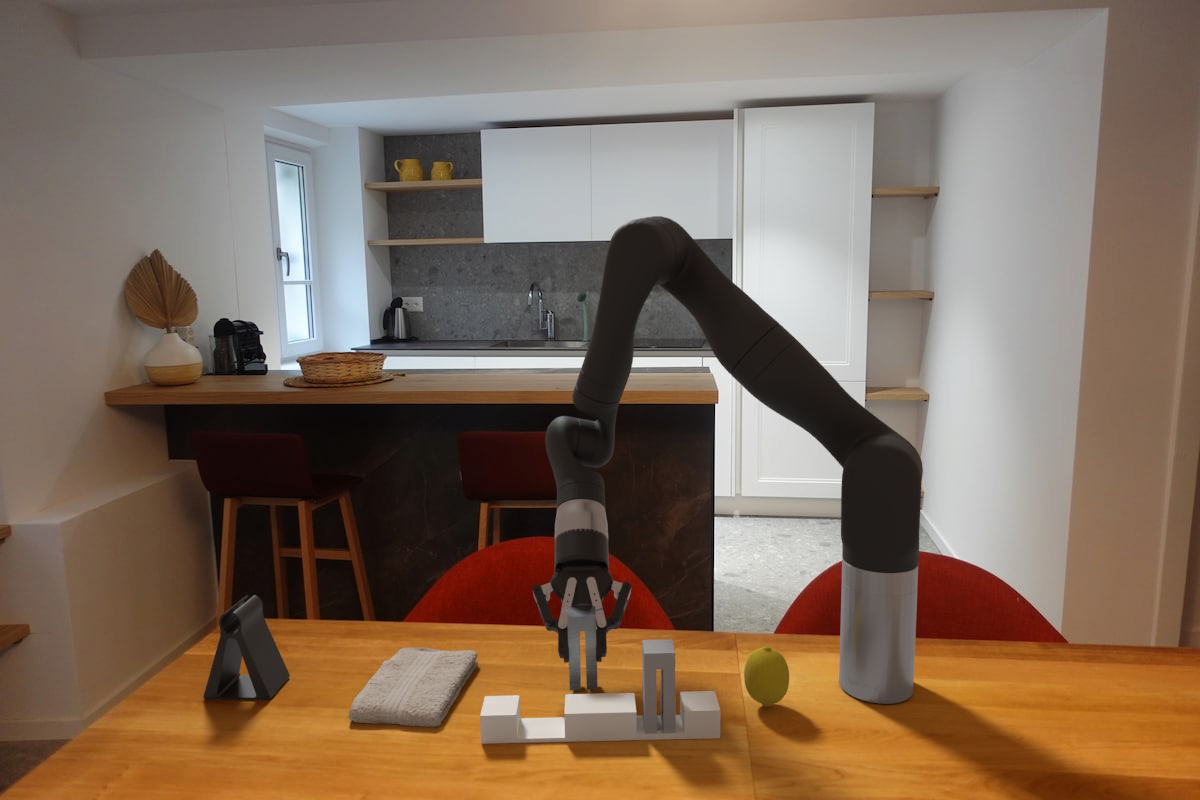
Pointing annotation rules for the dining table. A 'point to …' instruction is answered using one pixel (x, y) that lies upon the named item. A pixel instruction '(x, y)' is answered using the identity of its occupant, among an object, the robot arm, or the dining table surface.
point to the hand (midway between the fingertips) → (582, 659)
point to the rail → (611, 711)
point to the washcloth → (414, 687)
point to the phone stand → (245, 656)
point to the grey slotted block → (579, 621)
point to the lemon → (766, 676)
